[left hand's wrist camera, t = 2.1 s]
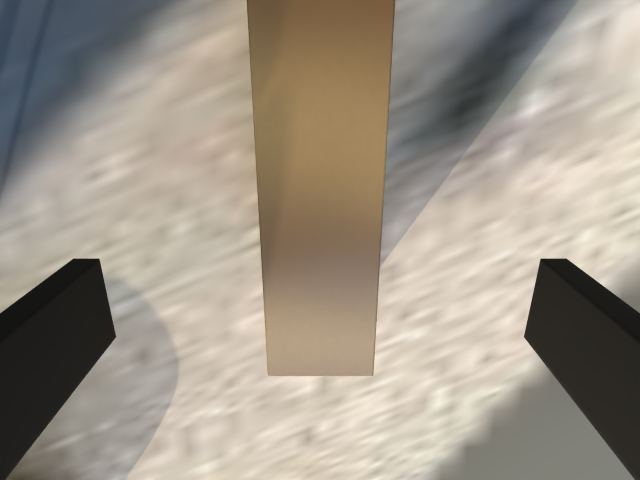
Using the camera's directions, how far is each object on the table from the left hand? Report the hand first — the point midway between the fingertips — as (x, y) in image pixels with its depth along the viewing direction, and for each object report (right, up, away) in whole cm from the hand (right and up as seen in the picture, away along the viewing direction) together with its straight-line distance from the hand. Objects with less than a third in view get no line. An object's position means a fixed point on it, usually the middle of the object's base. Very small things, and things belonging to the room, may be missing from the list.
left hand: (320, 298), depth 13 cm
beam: (0, +32, +1) cm, 32 cm away
